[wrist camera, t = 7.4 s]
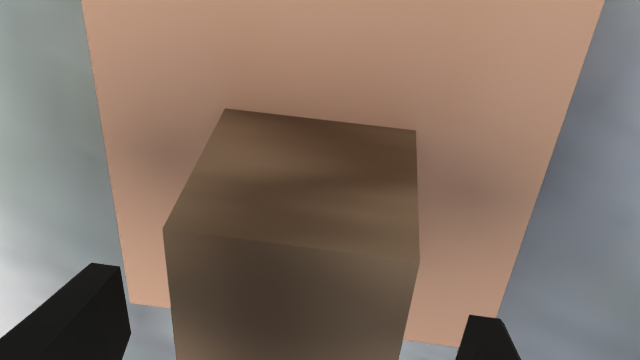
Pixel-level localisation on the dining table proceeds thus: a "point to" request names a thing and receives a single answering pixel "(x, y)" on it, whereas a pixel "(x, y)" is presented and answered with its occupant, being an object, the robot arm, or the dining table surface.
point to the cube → (295, 241)
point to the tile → (348, 115)
